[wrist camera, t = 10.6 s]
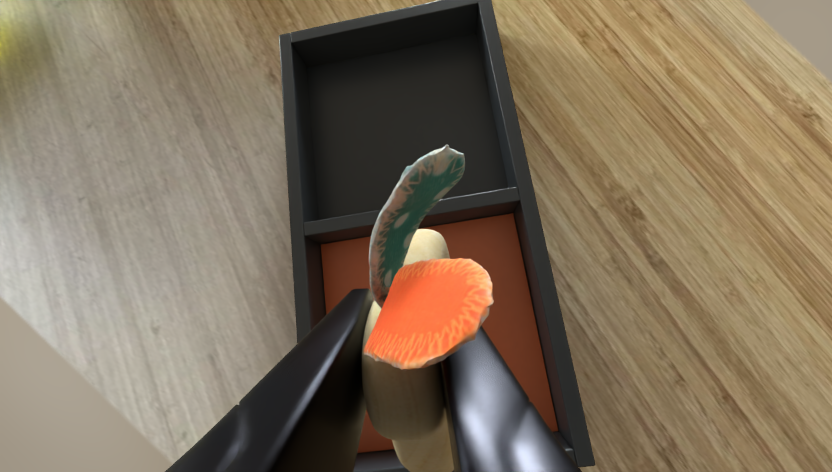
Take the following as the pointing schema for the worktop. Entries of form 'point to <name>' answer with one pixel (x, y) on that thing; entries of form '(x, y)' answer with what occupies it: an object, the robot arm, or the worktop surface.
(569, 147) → the worktop surface
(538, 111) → the worktop surface
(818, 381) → the worktop surface
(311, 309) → the tray
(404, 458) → the rattle
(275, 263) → the worktop surface
